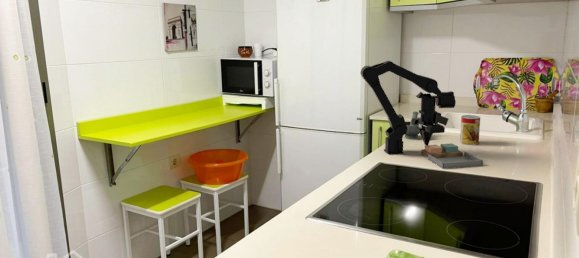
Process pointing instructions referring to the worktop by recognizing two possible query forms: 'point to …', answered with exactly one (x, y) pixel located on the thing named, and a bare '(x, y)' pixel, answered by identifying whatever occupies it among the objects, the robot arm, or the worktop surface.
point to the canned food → (470, 129)
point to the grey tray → (457, 161)
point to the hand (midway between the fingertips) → (426, 145)
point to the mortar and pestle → (412, 128)
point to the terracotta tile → (433, 148)
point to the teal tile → (449, 147)
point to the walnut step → (442, 154)
